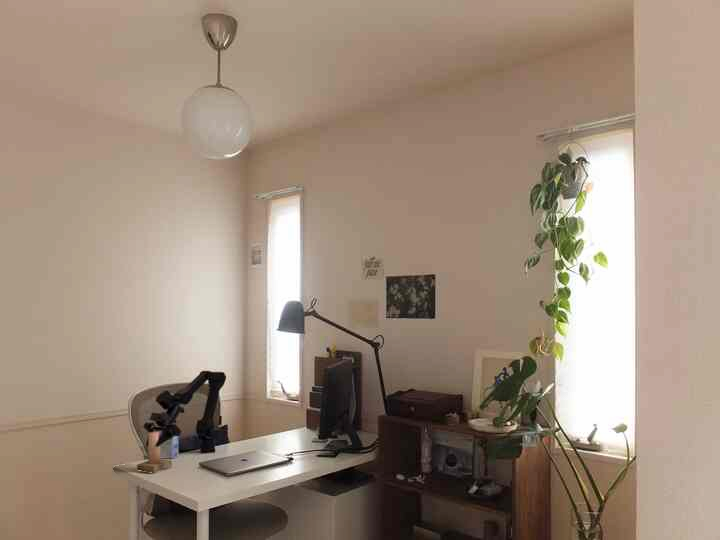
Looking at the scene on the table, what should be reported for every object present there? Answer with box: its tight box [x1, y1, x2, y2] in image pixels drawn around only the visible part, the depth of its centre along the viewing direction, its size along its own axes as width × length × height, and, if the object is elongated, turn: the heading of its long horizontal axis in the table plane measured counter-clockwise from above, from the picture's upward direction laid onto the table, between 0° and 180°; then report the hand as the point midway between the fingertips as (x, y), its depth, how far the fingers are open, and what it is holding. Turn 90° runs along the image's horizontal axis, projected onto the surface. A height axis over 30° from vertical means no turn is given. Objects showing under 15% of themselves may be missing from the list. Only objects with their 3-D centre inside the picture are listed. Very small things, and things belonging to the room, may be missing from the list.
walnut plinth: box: [136, 458, 172, 474], centre depth 244 cm, size 10×10×3 cm
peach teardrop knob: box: [148, 431, 162, 464], centre depth 245 cm, size 5×5×13 cm
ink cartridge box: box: [160, 431, 179, 459], centre depth 266 cm, size 10×6×14 cm, turn 79°
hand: (151, 445), depth 244 cm, fingers open, 6 cm apart
